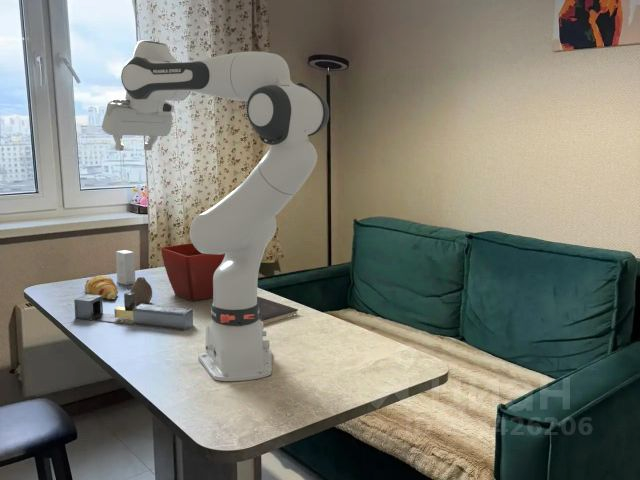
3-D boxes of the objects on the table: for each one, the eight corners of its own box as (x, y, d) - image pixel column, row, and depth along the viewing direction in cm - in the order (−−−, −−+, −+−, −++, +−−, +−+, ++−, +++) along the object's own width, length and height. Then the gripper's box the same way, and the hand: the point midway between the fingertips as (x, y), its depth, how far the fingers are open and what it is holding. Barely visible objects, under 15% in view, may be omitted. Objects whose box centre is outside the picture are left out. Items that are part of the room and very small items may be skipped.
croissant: (122, 309, 197) (132, 287, 198) (96, 301, 190) (106, 278, 191) (96, 294, 212) (105, 274, 213) (70, 286, 205) (80, 265, 206)
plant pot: (160, 293, 205) (159, 246, 201) (207, 284, 217) (207, 240, 214) (188, 306, 191) (187, 256, 188) (236, 296, 203) (236, 249, 200)
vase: (146, 307, 188) (145, 281, 187) (126, 305, 190) (125, 279, 188) (156, 301, 195) (155, 276, 193) (137, 299, 196) (136, 274, 195)
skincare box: (136, 283, 217) (134, 251, 215) (126, 285, 214) (124, 253, 211) (126, 280, 220) (125, 249, 218) (116, 282, 217) (115, 251, 215)
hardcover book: (251, 300, 200) (251, 294, 200) (298, 316, 185) (298, 309, 185) (213, 310, 189) (213, 303, 188) (260, 327, 173) (260, 320, 173)
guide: (193, 324, 173) (193, 305, 172) (184, 331, 167) (184, 311, 166) (87, 312, 182) (86, 294, 180) (75, 318, 176) (74, 299, 175)
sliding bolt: (186, 321, 172) (185, 297, 171) (181, 325, 169) (180, 300, 167) (120, 314, 177) (119, 291, 176) (114, 317, 174) (113, 293, 173)
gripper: (116, 102, 146) (107, 154, 151) (179, 107, 162) (169, 153, 167) (101, 94, 149) (93, 145, 154) (164, 99, 165) (155, 145, 170)
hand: (133, 149), depth 161 cm, fingers open, 8 cm apart
